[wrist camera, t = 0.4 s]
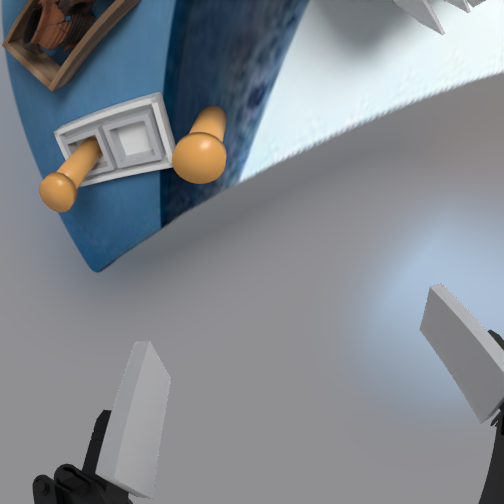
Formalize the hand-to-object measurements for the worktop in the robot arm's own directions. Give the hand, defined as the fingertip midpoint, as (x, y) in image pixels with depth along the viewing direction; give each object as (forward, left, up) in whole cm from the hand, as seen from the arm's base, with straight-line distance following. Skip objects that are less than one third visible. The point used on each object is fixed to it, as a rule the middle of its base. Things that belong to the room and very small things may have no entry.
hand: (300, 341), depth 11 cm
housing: (-10, -20, -31) cm, 38 cm away
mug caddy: (-29, -10, -31) cm, 44 cm away
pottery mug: (-29, -10, -31) cm, 44 cm away
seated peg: (-12, -24, -30) cm, 40 cm away
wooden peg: (-2, -7, -31) cm, 32 cm away
